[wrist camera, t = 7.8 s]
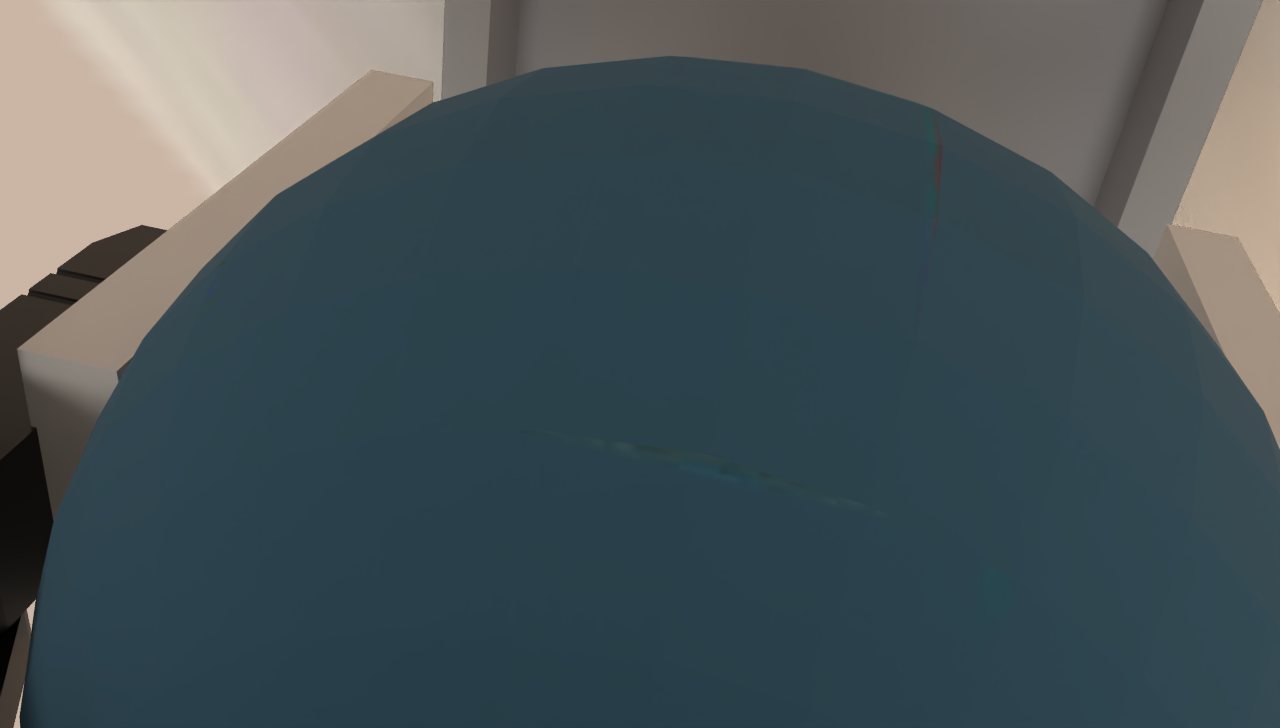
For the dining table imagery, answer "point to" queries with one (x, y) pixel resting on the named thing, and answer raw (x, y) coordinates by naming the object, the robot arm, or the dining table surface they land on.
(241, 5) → the dining table surface
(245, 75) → the dining table surface
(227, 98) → the dining table surface
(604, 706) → the light bulb
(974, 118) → the parts tray
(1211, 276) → the robot arm
